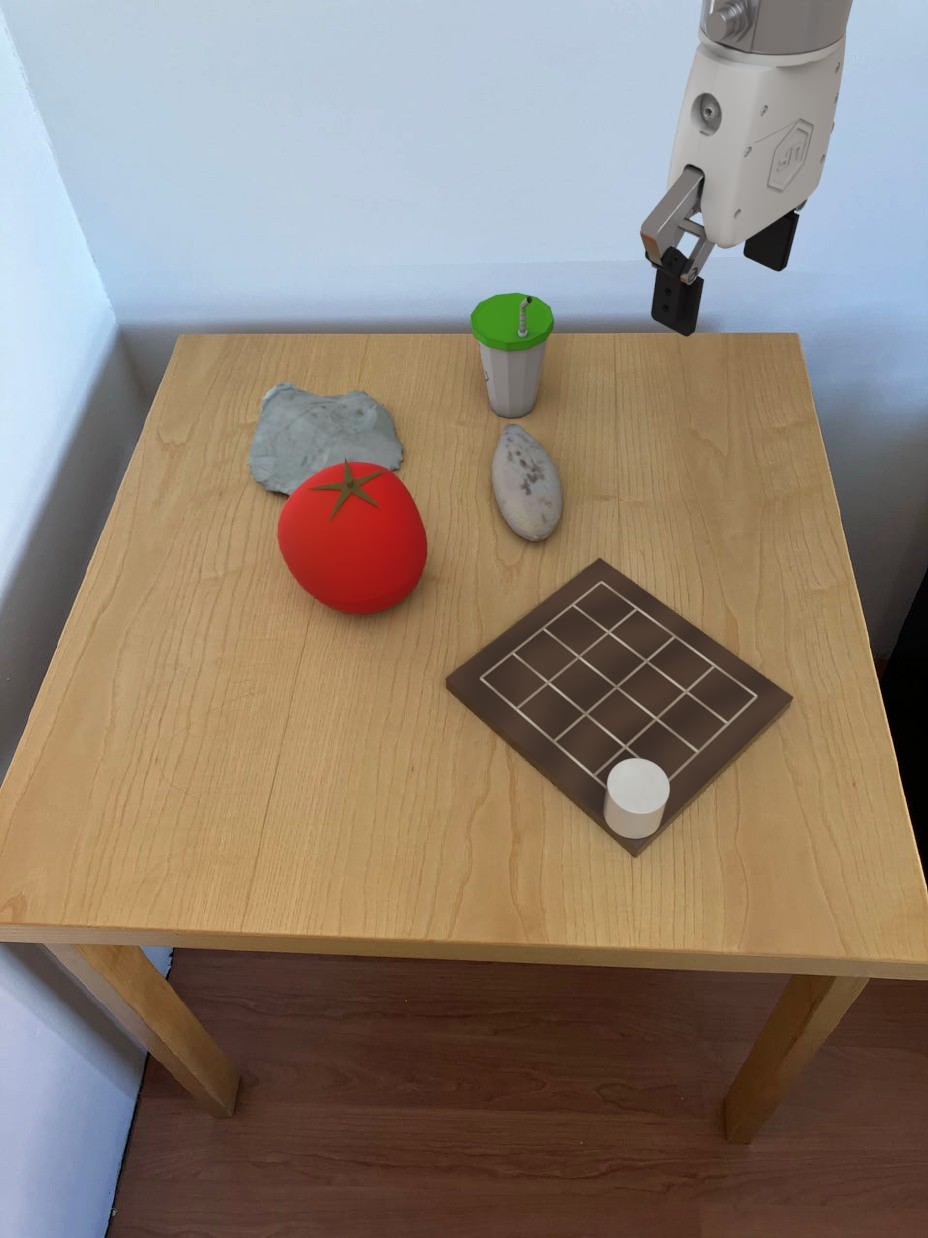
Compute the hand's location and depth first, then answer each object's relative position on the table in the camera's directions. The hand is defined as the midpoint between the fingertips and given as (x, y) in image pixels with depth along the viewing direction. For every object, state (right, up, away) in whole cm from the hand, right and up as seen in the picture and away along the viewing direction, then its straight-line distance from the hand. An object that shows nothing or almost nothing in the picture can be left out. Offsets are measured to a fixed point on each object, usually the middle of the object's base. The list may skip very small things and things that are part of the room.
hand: (719, 293), depth 64 cm
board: (-5, -28, +12) cm, 31 cm away
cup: (-12, 0, +34) cm, 36 cm away
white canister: (-5, -35, +4) cm, 36 cm away
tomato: (-26, -19, +20) cm, 38 cm away
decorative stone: (-11, -10, +26) cm, 30 cm away
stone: (-31, -5, +31) cm, 44 cm away
